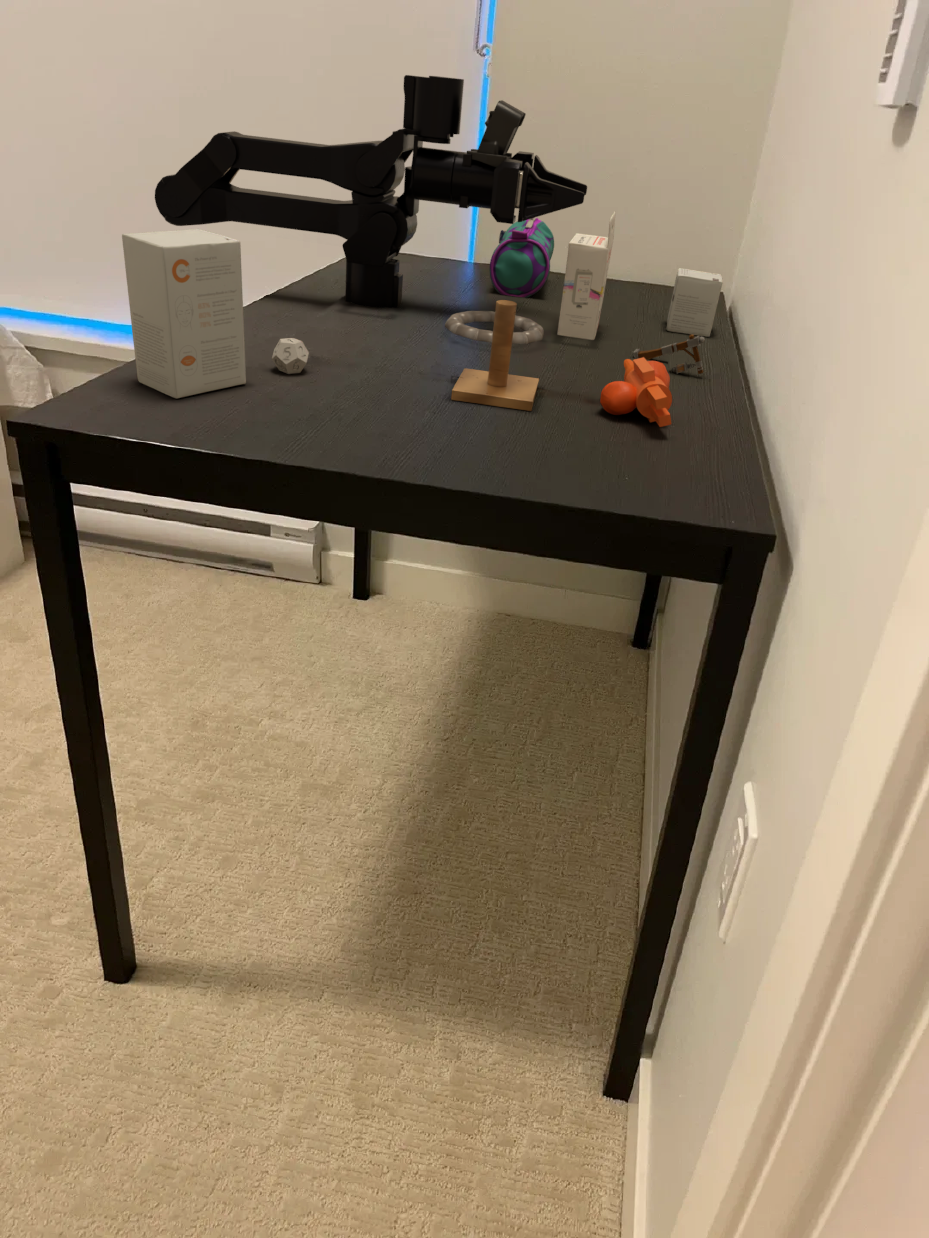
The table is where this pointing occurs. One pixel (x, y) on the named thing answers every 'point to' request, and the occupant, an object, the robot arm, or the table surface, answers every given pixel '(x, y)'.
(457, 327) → the gray segmented ring
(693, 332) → the white cardboard box
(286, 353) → the game die
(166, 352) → the small box
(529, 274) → the pencil case
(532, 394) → the wooden peg stand
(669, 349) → the wooden post with brackets
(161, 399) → the table surface
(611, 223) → the ink cartridge box
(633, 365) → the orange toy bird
